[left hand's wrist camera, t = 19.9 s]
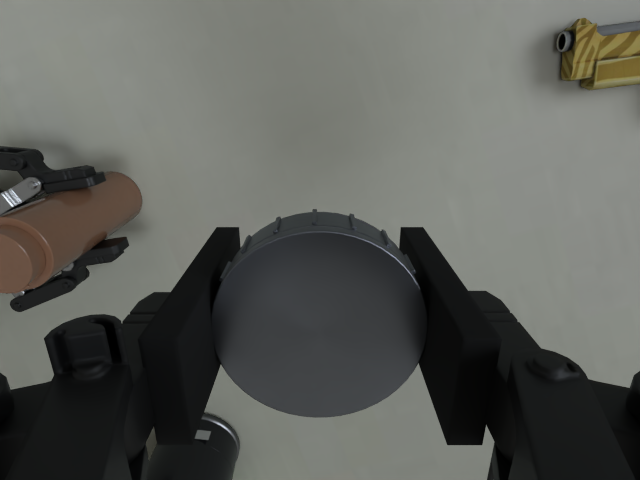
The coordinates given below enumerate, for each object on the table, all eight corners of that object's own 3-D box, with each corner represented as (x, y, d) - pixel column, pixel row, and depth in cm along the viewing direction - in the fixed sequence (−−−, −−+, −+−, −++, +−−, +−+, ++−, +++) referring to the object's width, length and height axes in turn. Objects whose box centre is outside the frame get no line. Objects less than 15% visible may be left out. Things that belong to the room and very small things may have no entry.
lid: (429, 363, 13) (443, 400, 11) (251, 395, 13) (242, 434, 12) (402, 189, 11) (416, 205, 9) (194, 233, 11) (175, 256, 10)
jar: (78, 189, 38) (-65, 251, 24) (117, 161, 37) (-7, 208, 23) (114, 231, 39) (0, 313, 25) (153, 205, 38) (57, 274, 24)
